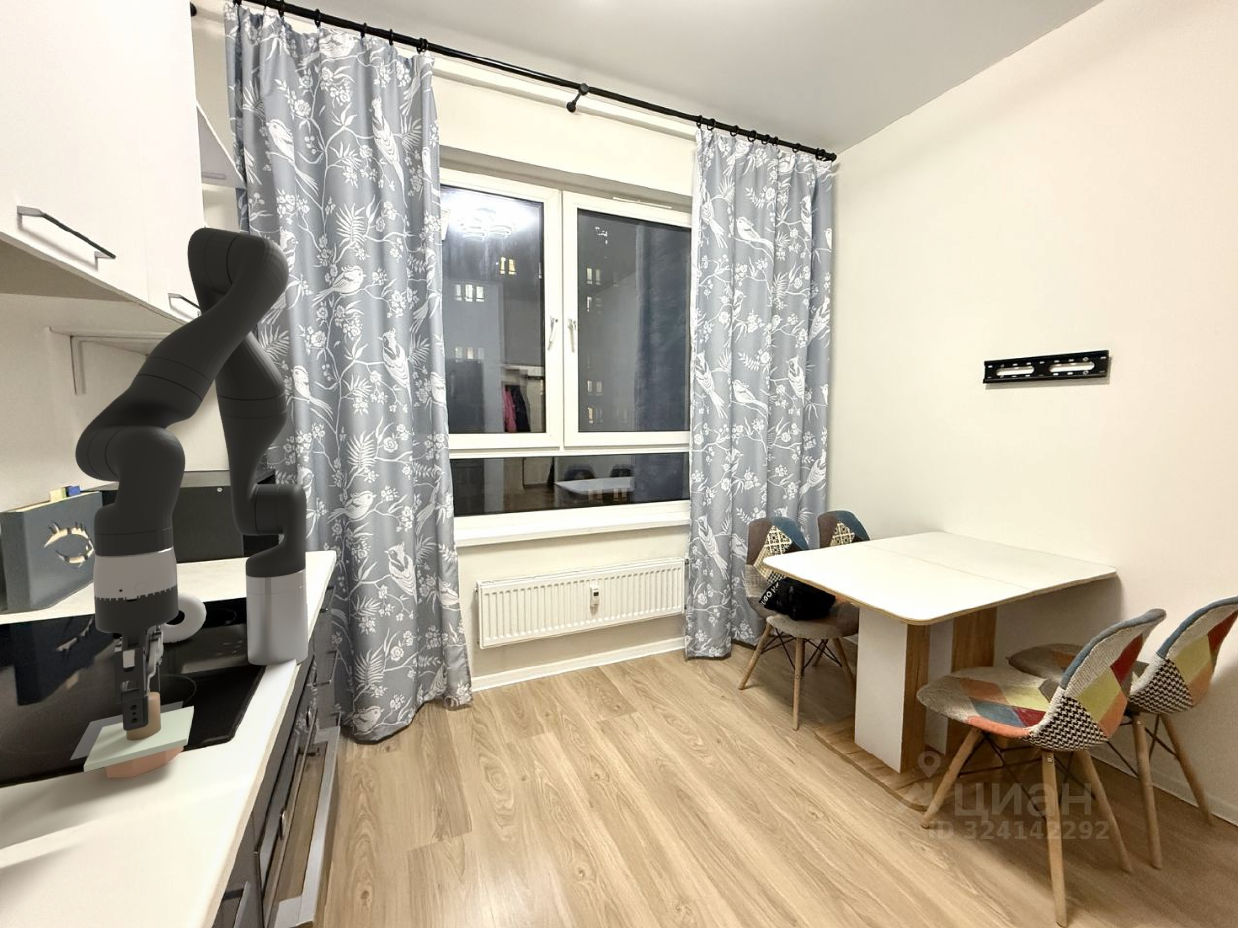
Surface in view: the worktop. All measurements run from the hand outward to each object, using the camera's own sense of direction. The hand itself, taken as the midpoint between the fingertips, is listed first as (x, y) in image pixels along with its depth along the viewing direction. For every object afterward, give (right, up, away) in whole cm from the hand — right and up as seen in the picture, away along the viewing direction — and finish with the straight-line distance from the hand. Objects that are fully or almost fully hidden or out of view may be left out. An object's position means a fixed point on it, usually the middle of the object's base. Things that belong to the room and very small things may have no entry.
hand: (142, 710), depth 64 cm
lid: (0, -4, 0) cm, 4 cm away
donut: (-29, -5, +38) cm, 48 cm away
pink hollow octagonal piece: (0, -8, +1) cm, 8 cm away
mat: (-8, -7, +7) cm, 13 cm away
